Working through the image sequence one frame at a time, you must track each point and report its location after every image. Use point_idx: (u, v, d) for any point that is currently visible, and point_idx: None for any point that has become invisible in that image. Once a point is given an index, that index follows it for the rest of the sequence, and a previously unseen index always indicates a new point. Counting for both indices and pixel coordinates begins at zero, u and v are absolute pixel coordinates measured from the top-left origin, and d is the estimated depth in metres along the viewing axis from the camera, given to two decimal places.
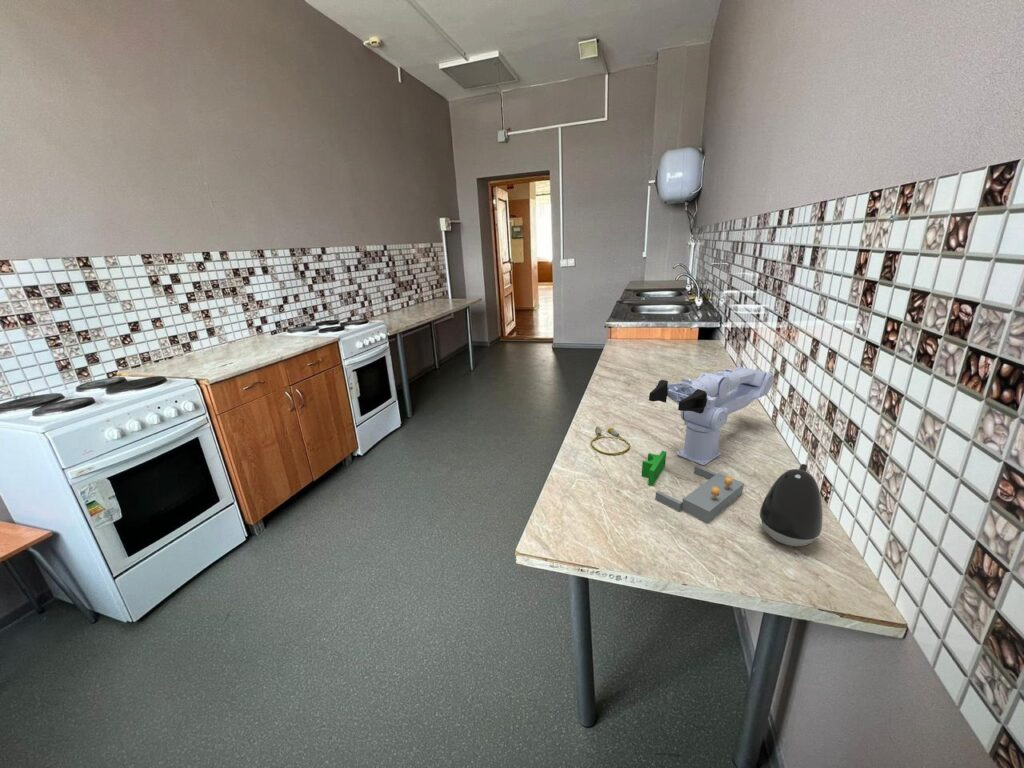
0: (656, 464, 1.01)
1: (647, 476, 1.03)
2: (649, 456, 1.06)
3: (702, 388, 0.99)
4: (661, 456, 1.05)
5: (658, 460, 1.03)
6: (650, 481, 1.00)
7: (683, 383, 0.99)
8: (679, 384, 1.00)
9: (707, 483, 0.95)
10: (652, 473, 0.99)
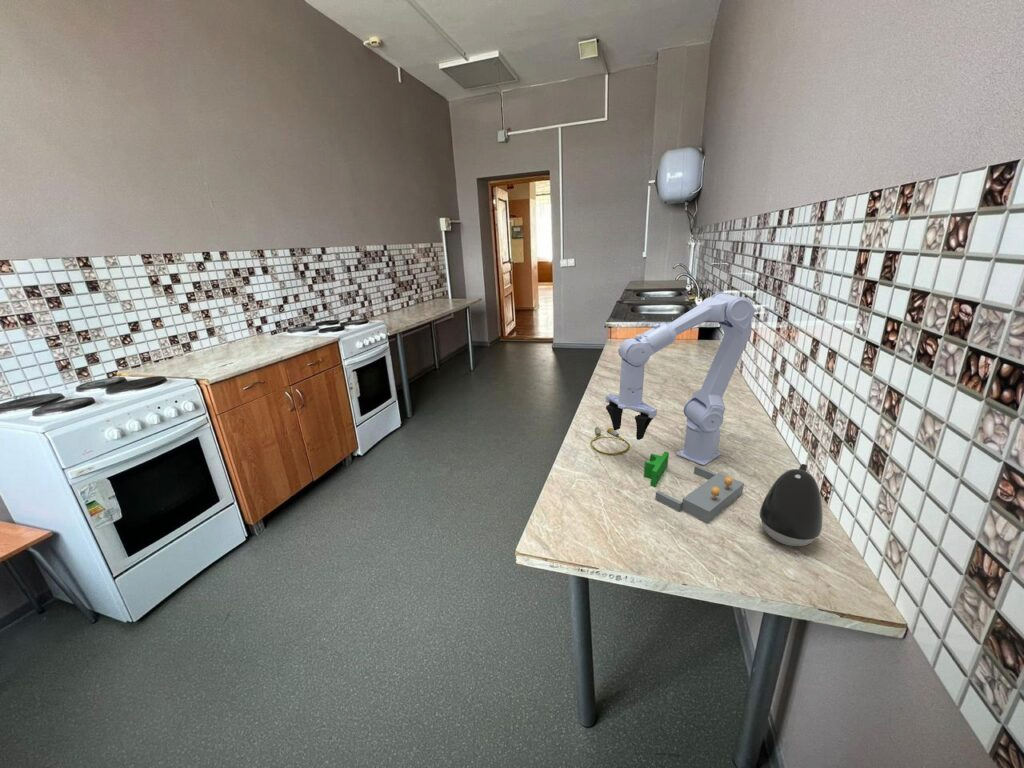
0: (659, 465, 1.01)
1: (649, 477, 1.03)
2: (651, 457, 1.05)
3: (634, 394, 1.01)
4: (663, 457, 1.04)
5: (660, 461, 1.02)
6: (653, 482, 0.99)
7: None
8: None
9: (707, 483, 0.95)
10: (655, 474, 0.98)
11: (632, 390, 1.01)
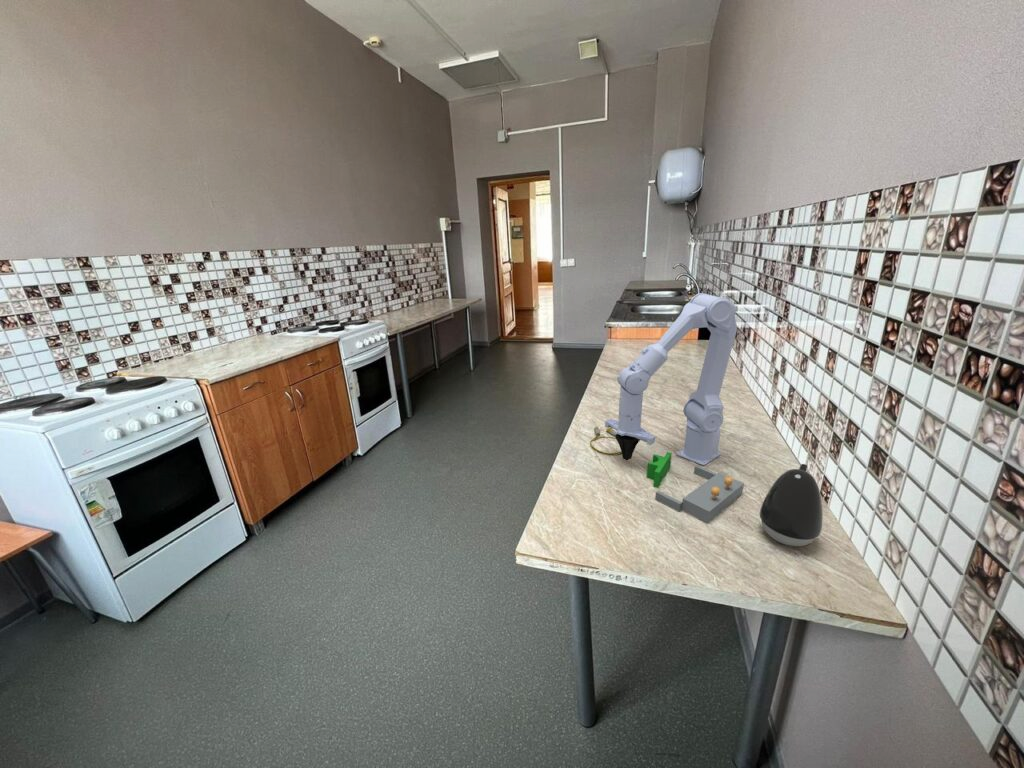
0: (661, 465, 1.00)
1: (652, 478, 1.02)
2: (654, 457, 1.05)
3: (633, 421, 1.04)
4: (666, 457, 1.04)
5: (663, 461, 1.02)
6: (655, 483, 0.99)
7: None
8: None
9: (707, 483, 0.95)
10: (657, 475, 0.98)
11: (631, 417, 1.03)
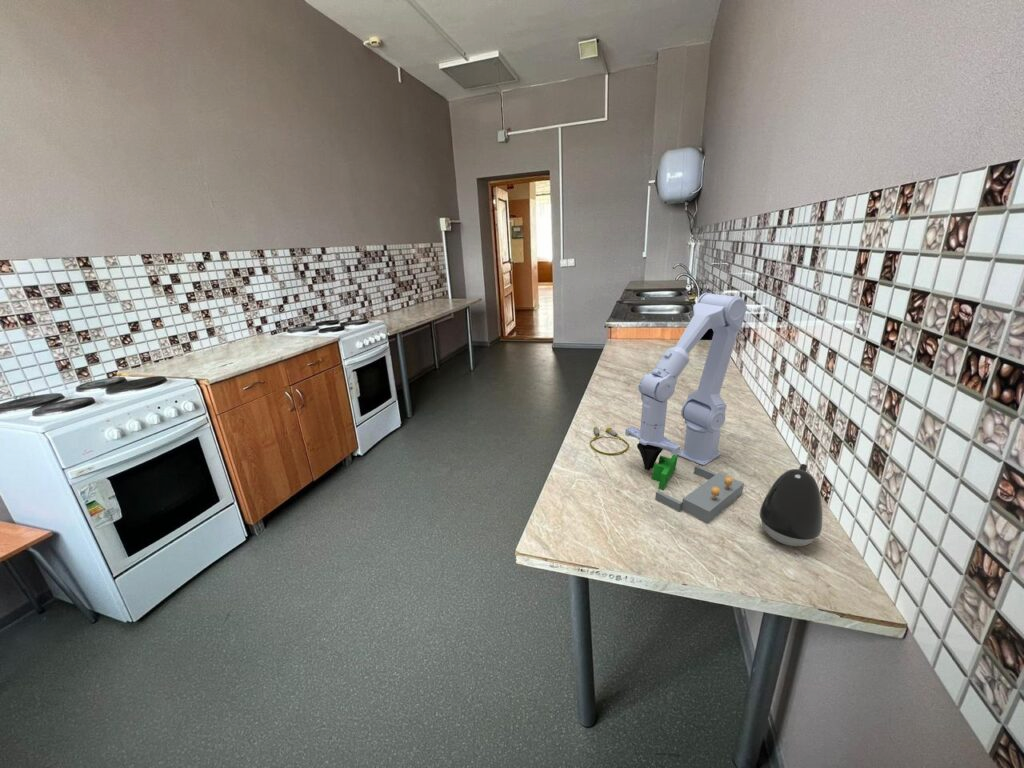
0: (668, 468, 0.99)
1: (658, 479, 1.01)
2: (660, 459, 1.04)
3: (657, 430, 0.99)
4: (673, 459, 1.03)
5: (670, 463, 1.01)
6: (661, 484, 0.98)
7: None
8: None
9: (707, 483, 0.95)
10: (664, 477, 0.97)
11: (654, 426, 0.98)
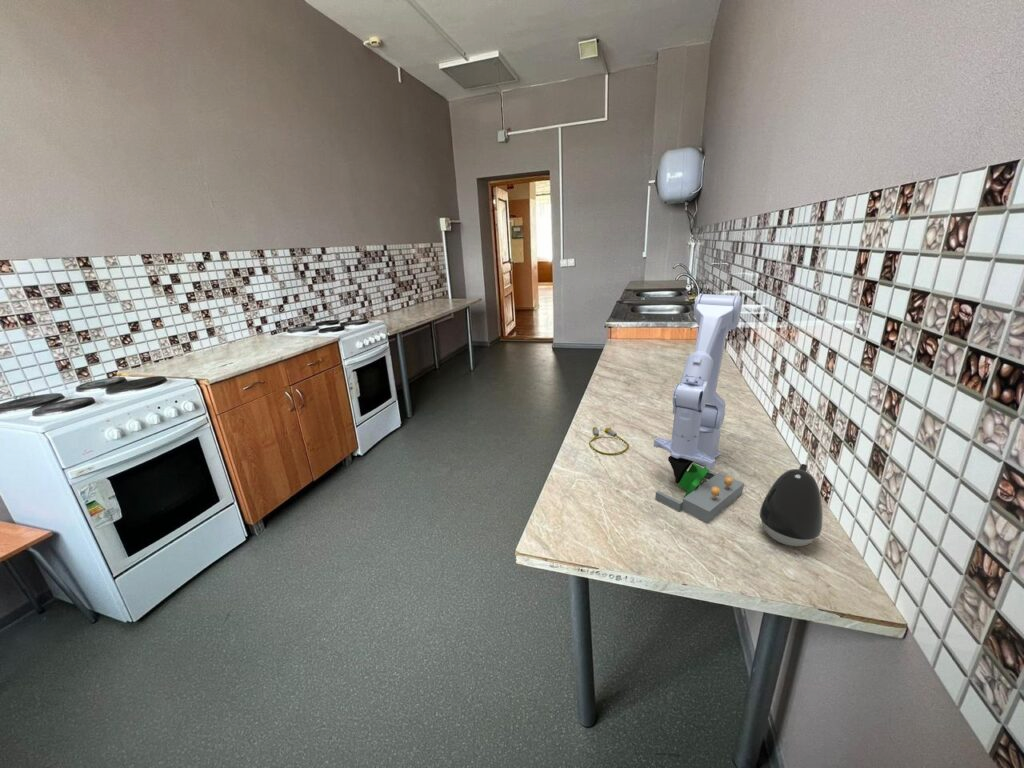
0: (699, 479, 0.94)
1: (684, 487, 0.97)
2: (692, 466, 0.99)
3: (690, 443, 0.92)
4: (705, 470, 0.97)
5: (702, 474, 0.96)
6: None
7: None
8: None
9: (707, 483, 0.95)
10: (693, 488, 0.92)
11: (688, 438, 0.92)
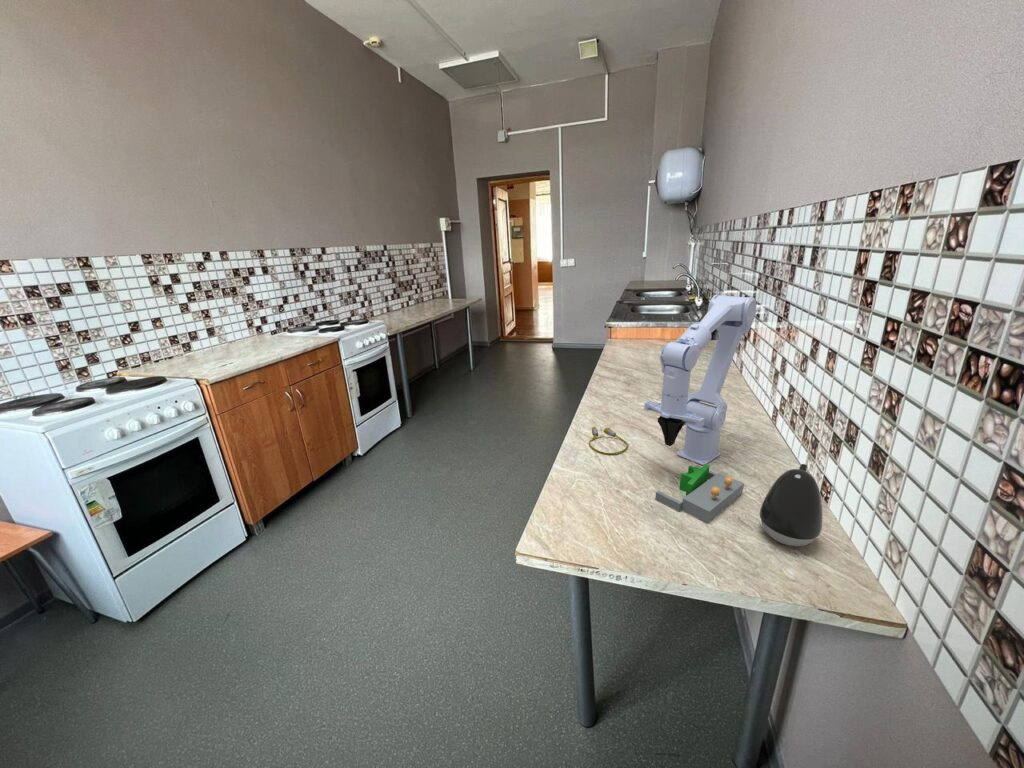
0: (696, 478, 0.95)
1: (685, 490, 0.97)
2: (690, 469, 0.99)
3: (680, 402, 0.93)
4: (703, 470, 0.98)
5: (699, 474, 0.96)
6: None
7: None
8: None
9: (707, 483, 0.95)
10: (690, 487, 0.93)
11: (677, 397, 0.93)
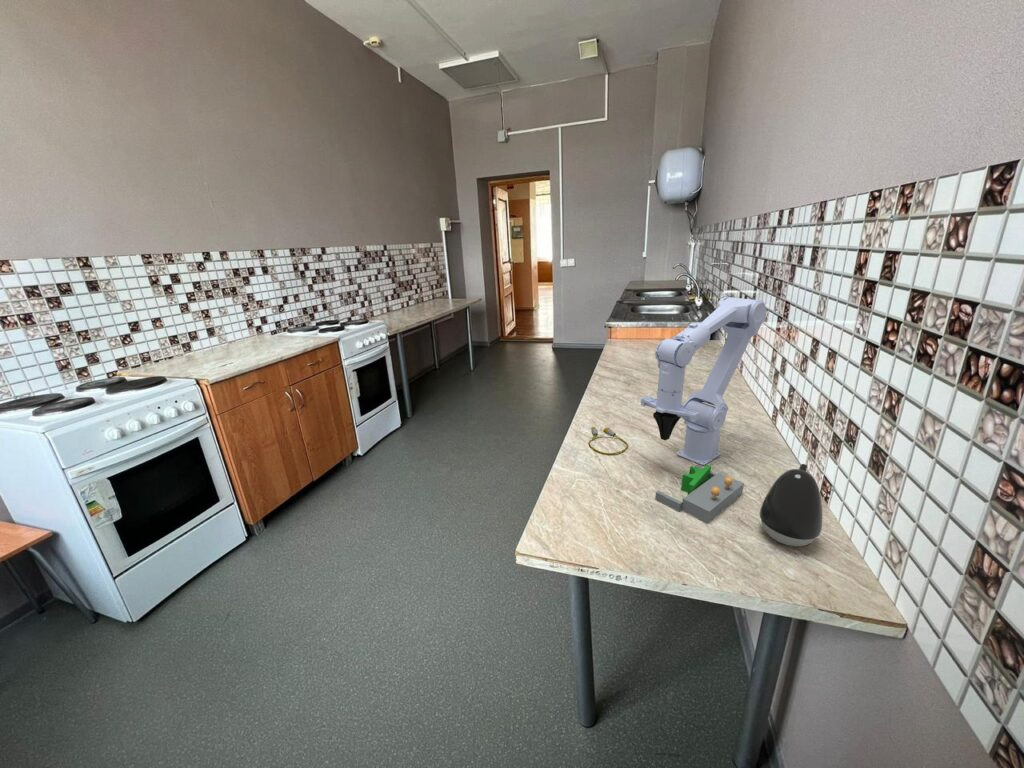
0: (697, 478, 0.94)
1: (687, 490, 0.97)
2: (691, 469, 0.99)
3: (674, 397, 0.96)
4: (704, 470, 0.98)
5: (700, 474, 0.96)
6: None
7: None
8: None
9: (707, 483, 0.95)
10: (692, 488, 0.92)
11: (672, 393, 0.96)
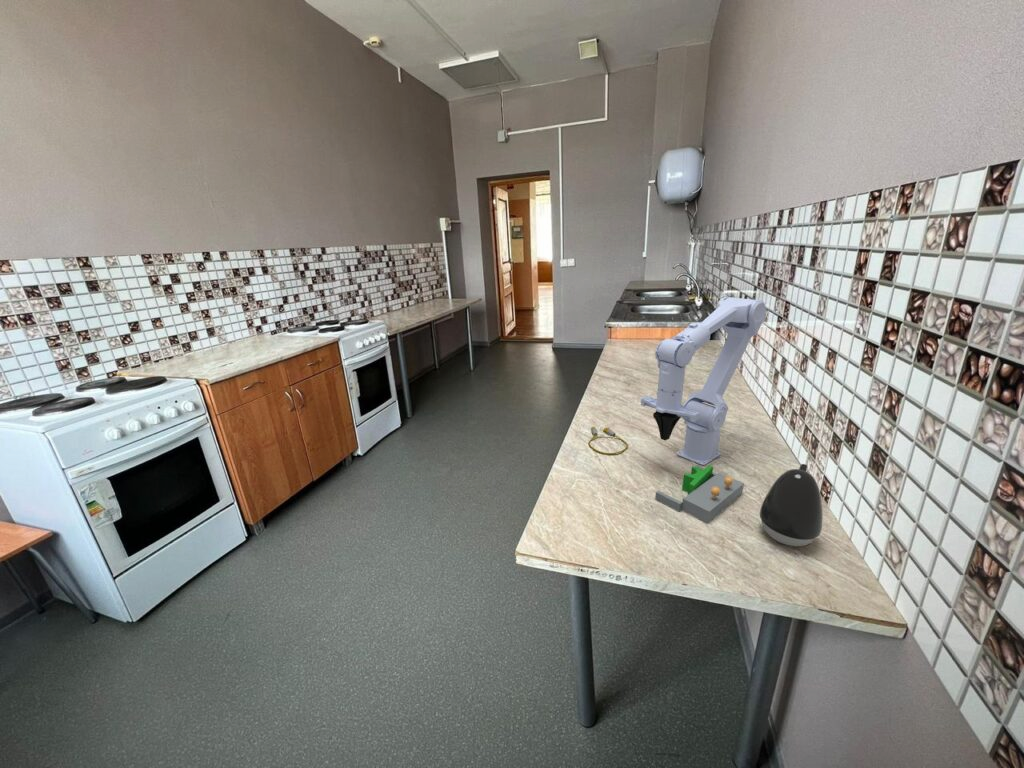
0: (698, 478, 0.94)
1: (688, 490, 0.97)
2: (693, 469, 0.99)
3: (674, 397, 0.96)
4: (706, 471, 0.97)
5: (701, 475, 0.96)
6: None
7: None
8: None
9: (707, 483, 0.95)
10: (692, 488, 0.92)
11: (672, 393, 0.96)
